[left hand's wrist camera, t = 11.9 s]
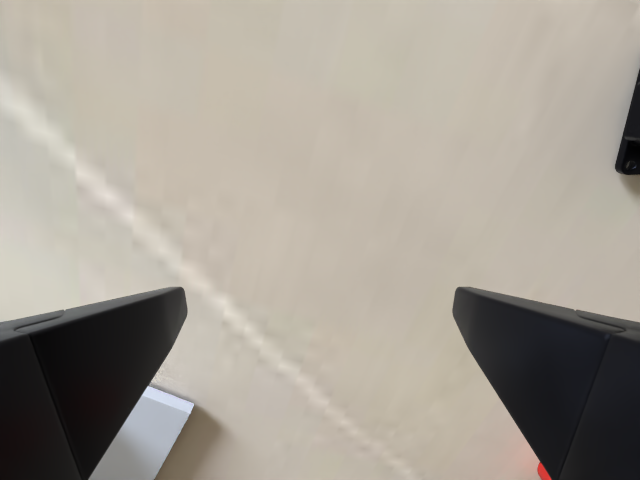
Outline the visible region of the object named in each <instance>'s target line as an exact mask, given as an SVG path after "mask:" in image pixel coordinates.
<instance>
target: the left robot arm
mask: <svg viewBox="0 0 640 480" xmlns="http://www.w3.org/2000/svg"><path fill="white" fill-rule="evenodd" d="M629 161H630V164H629V166H628V167H627V168H626V165H627V163H628V162H629ZM615 169H616V171H617V172H618V173H621V174H626V175H635V174H640V70H639V74H638V77H637V81H636V85H635V89H634V93H633V97H632V101H631V105H630V109H629V113H628V117H627V121H626V125H625V129H624V133H623V137H622V141H621V144H620V148H619V152H618V156H617V160H616V164H615ZM186 317H187V303H186V297H185V291H184V289H183V288H182V287H168V288H163V289H159V290H154V291H149V292H145V293H140V294H135V295H131V296H126V297H122V298H117V299H112V300H108V301H103V302H98V303H94V304H89V305H85V306H80V307H75V308H71V309H66V310H65V311H64V310H59V311H55V312H50V313H45V314H40V315H35V316H31V317H26V318H21V319H16V320H11V321H6V322H0V480H88V479H89V478H90V476H91V475H92V473H93V471H94V470H95V468H96V467H97V465H98V464H99V462H100V460H101V459H102V457H103V456H104V454H105V453H106V451H107V449H108V448H109V446H110V445H111V443H112V442H113V440H114V438H115V437H116V435H117V434H118V432H119V431H120V429H121V427H122V426H123V424H124V423H125V421H126V420H127V418H128V416H129V415H130V413H131V412H132V410H133V409H134V407H135V405H136V404H137V402H138V401H139V399H140V398H141V396H142V394H143V393H144V391H145V390H146V388H147V387H148V385H149V383H150V382H151V380H152V379H153V377H154V376H155V374H156V372H157V371H158V369H159V368H160V366H161V365H162V363H163V361H164V360H165V358H166V357H167V355H168V354H169V352H170V350H171V349H172V347H173V345H174V343H175V341H176V338H177V336H178V334H179V332H180V330H181V328H182V326H183V323H184V321H185V319H186ZM453 317H454V319H455V321H456V323H457V326H458V328H459V330H460V332H461V334H462V336H463V338H464V341H465V343H466V345H467V347H468V349H469V350H470V352H471V354H472V355H473V357H474V358H475V360H476V361H477V363H478V365H479V366H480V368H481V369H482V371H483V372H484V374H485V376H486V377H487V379H488V380H489V382H490V383H491V385H492V387H493V388H494V390H495V391H496V393H497V394H498V396H499V398H500V399H501V401H502V402H503V404H504V405H505V407H506V409H507V410H508V412H509V413H510V415H511V416H512V418H513V420H514V421H515V423H516V424H517V426H518V427H519V429H520V431H521V432H522V434H523V435H524V437H525V438H526V440H527V442H528V443H529V445H530V446H531V448H532V449H533V451H534V453H535V454H536V456H537V457H538V459H539V460H540V462H541V464H542V465H543V467H544V468H545V470H546V471H547V473H548V475H549V476H550V478H551V479H552V480H640V322H634V321H629V320H624V319H619V318H614V317H609V316H605V315H600V314H595V313H590V312H585V311H581V310H576V311H575V310H574V309H570V308H565V307H560V306H556V305H551V304H546V303H542V302H537V301H532V300H528V299H523V298H519V297H514V296H509V295H505V294H500V293H495V292H491V291H486V290H481V289H477V288H472V287H458V288H457V289H456V291H455V297H454V303H453Z"/></svg>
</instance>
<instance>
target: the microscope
mask: <svg viewBox="0 0 640 480" xmlns="http://www.w3.org/2000/svg"><path fill="white" fill-rule="evenodd" d="M193 406H194V404H193V403H191V402H188V401H186V400H183V399H181V398H178V397H176V396H173V395H170V394H168V393H165V392H163V391H160V390H158V389H155V388H152V387H150V386H148V387H147V388H146V390H145V391H144V393H143V394H142V396H141V398H140V399H139V401H138V402H137V404H136V405H135V407H134V409H133V410H132V412H131V413H130V415H129V416H128V418H127V420H126V421H125V423H124V424H123V426H122V427H121V429H120V431H119V432H118V434H117V435H116V437H115V438H114V440H113V442H112V443H111V445H110V446H109V448H108V449H107V451H106V453H105V454H104V456H103V457H102V459H101V460H100V462H99V464H98V465H97V467H96V468H95V470H94V471H93V473H92V475H91V476H90V478H89V479H88V480H154V479H155V477H156V475H157V473H158V472H159V470H160V468H161V466H162V464H163V462H164V461H165V459H166V457H167V455H168V453H169V451H170V450H171V448H172V446H173V444H174V442H175V440H176V439H177V437H178V435H179V433H180V431H181V430H182V428H183V426H184V424H185V422H186V420H187V419H188V417H189V415H190V413H191V411H192V408H193Z"/></svg>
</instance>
